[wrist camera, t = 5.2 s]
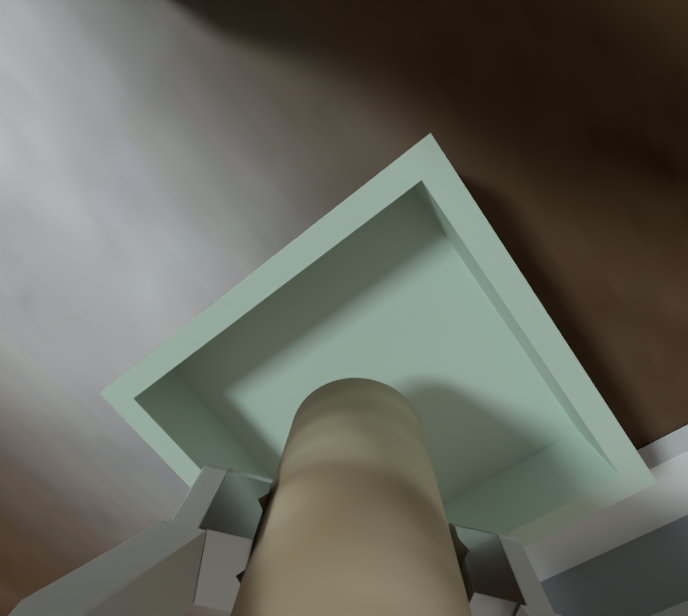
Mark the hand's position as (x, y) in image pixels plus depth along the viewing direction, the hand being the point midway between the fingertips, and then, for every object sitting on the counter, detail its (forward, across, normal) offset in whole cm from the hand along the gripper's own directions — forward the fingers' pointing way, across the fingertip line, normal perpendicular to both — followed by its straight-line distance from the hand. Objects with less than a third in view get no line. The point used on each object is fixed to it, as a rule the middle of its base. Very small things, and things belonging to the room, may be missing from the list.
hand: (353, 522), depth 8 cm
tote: (+7, -1, 0) cm, 7 cm away
